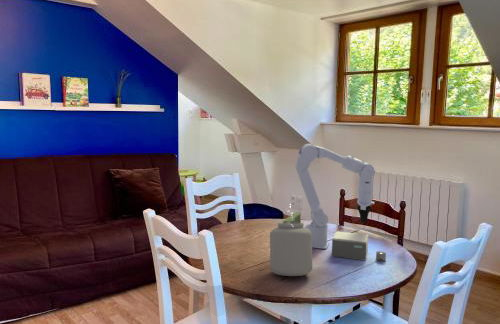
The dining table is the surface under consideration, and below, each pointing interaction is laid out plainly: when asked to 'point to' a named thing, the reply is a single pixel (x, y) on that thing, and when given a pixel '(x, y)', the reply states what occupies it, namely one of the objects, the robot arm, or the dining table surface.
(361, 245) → the grey box with handle
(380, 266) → the dining table surface
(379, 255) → the stand
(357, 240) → the box
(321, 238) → the robot arm
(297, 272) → the jar
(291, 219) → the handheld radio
